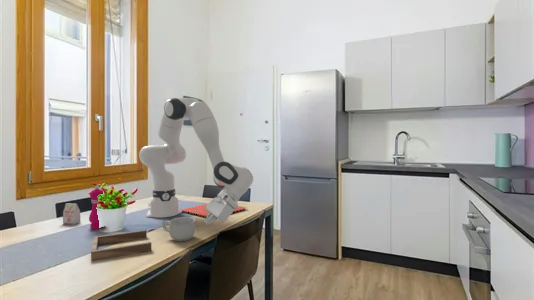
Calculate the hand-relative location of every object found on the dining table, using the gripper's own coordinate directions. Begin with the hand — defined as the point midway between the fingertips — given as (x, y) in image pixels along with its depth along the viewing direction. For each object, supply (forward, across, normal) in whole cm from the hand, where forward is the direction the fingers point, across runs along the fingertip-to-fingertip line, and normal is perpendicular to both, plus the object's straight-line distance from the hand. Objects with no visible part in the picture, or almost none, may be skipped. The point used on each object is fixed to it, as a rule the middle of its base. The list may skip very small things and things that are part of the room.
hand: (205, 223), depth 132 cm
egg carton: (-8, -42, +16) cm, 45 cm away
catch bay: (+26, 0, -19) cm, 33 cm away
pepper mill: (+34, -36, -26) cm, 56 cm away
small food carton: (+42, -51, -35) cm, 75 cm away
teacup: (+12, 0, -4) cm, 13 cm away
